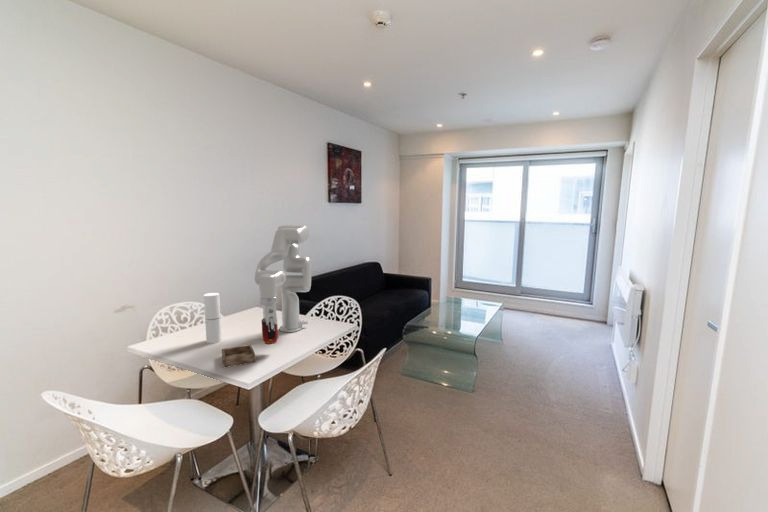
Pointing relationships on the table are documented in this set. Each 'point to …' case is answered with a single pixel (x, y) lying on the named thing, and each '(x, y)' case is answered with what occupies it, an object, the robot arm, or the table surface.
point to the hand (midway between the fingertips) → (270, 335)
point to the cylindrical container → (212, 317)
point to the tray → (238, 355)
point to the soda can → (265, 333)
